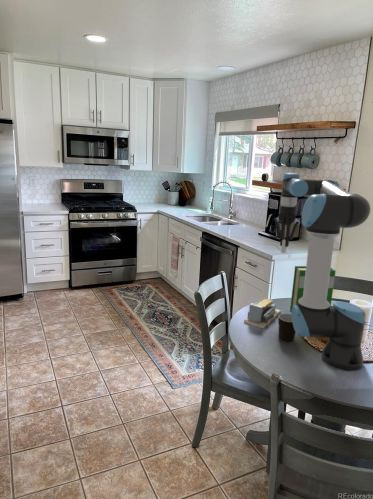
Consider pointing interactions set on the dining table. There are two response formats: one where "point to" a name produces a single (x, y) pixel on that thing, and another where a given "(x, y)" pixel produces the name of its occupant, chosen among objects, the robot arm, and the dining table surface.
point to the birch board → (262, 322)
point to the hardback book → (299, 285)
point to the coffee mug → (286, 328)
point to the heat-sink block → (260, 313)
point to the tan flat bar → (265, 303)
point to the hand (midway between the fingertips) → (283, 252)
